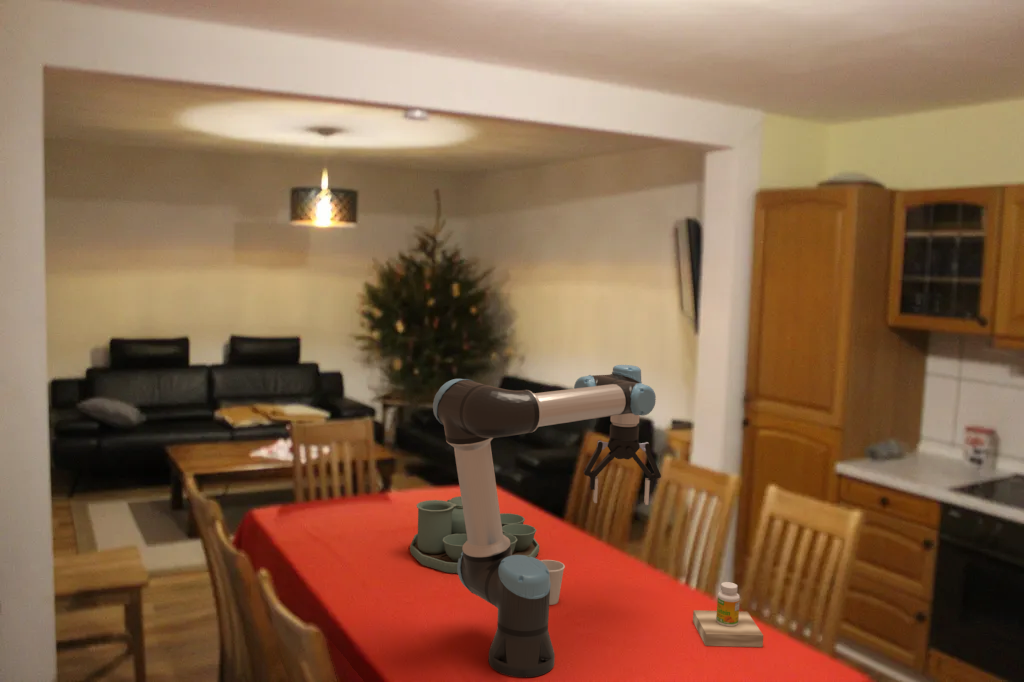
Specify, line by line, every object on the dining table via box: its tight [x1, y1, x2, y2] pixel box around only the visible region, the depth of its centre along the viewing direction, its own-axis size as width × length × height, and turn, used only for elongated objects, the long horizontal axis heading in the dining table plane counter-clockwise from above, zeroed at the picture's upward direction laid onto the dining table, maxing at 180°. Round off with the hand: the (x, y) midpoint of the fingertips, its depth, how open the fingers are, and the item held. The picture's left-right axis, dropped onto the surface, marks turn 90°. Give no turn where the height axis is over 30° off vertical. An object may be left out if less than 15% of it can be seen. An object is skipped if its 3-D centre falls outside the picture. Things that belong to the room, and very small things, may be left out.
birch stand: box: [692, 609, 764, 648], centre depth 219 cm, size 14×14×3 cm
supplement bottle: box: [716, 581, 741, 626], centre depth 218 cm, size 5×5×10 cm
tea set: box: [409, 495, 540, 574], centre depth 271 cm, size 40×40×16 cm
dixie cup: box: [540, 559, 566, 606], centre depth 235 cm, size 8×8×10 cm
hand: (620, 502), depth 232 cm, fingers open, 13 cm apart
